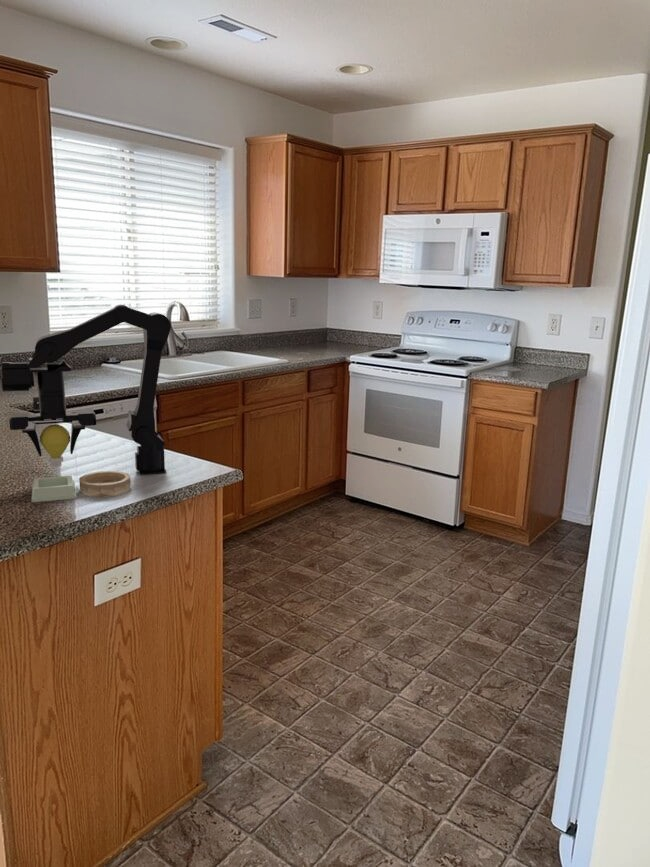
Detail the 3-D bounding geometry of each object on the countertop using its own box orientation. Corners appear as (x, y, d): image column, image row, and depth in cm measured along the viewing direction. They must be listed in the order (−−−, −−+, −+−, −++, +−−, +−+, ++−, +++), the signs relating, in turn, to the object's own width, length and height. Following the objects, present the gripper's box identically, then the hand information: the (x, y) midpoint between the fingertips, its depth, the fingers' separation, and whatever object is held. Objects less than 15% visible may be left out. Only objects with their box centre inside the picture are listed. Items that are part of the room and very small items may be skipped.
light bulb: (76, 466, 161) (75, 425, 159) (49, 471, 156) (47, 429, 154) (62, 460, 165) (61, 420, 163) (36, 464, 160) (34, 424, 158)
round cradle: (127, 480, 161) (127, 469, 161) (132, 494, 151) (132, 482, 151) (79, 484, 157) (78, 473, 157) (81, 499, 147) (80, 487, 147)
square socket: (74, 486, 156) (73, 474, 155) (76, 498, 148) (75, 486, 147) (32, 489, 153) (31, 478, 152) (31, 502, 145) (30, 490, 144)
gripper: (91, 383, 167) (95, 444, 171) (9, 386, 160) (14, 449, 164) (94, 390, 157) (98, 455, 161) (6, 394, 150) (12, 461, 154)
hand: (56, 454), depth 160 cm, fingers closed on light bulb, 6 cm apart
